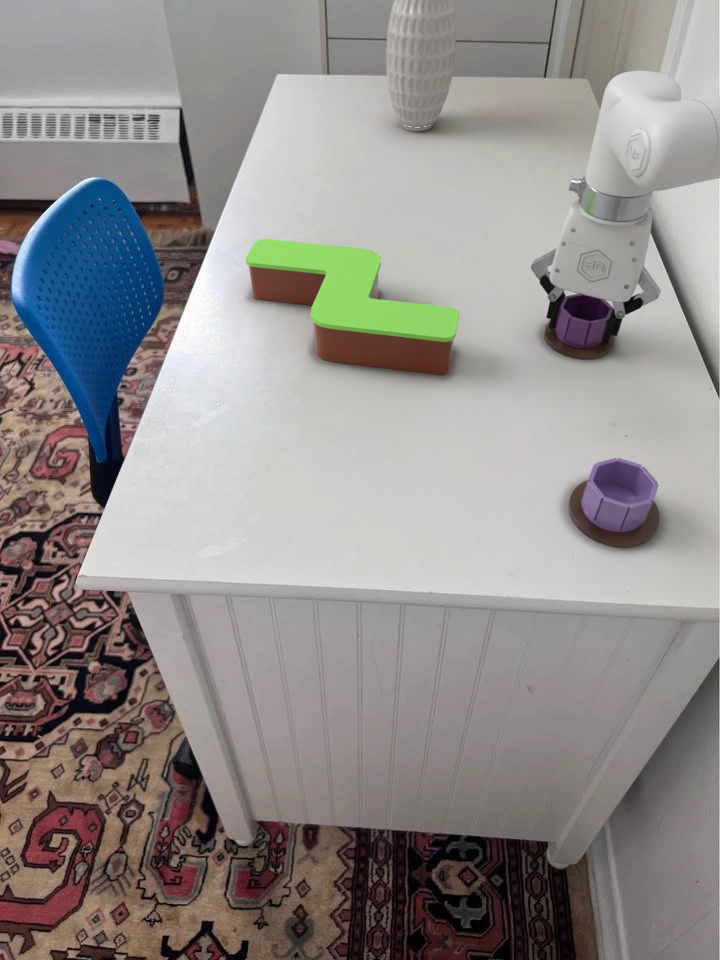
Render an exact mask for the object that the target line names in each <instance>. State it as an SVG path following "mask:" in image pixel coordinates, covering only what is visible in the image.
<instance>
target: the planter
mask: <svg viewBox="0 0 720 960" xmlns="http://www.w3.org/2000/svg"><path fill="white" fill-rule="evenodd" d="M381 261H382V260H381V256H380V255H379V253H378V252H376V251H373V250H372V249H368V248H361V247H350V246H340V245H331V244H321V243H320V244H319V243H311V242H300V241H293V240H292V241H291V240H290V241H289V240H279V239H271V238H261V239H258V240H256V241H255V242H254V243H253V245H252V246H251V248H250V250H249V252H248V253H247V254H246V257H245V262H246V265H247V266H248V268H249V276H250V283H251V291H252V297H253V298H254V299H255V300H260V301H269V302H270V301H271V302H278V303H287V304H288V303H289V304H297V305H306V306H311V308H310V319H311V320H312V323H313V331H314V334H313V335H314V347H315V349H314V350H315V353H316V355H317V357H318V358H320V359H322V360H324V361H327V362H330V363H338V364H346V365H354V366H364V367H371V368H377V369H378V368H379V369H386V370H387V369H388V370H395V371H396V370H397V371H404V372H412V373H420V374H428V375H435V376H445V375H448V374H449V373H450V369H451V365H452V364H451V363H452V359H453V354H454V344H455V338H456V334H457V330H458V324H459V319H460V311H459V310H458V309H457V308H455V307H452V306H444V305H434V304H425V303H416V302H408V301H400V300H399V301H398V300H388V299H382V298H381V299H380V298H379V272H380V269H381V263H382V262H381Z"/></svg>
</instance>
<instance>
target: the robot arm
mask: <svg viewBox="0 0 720 960" xmlns="http://www.w3.org/2000/svg"><path fill="white" fill-rule="evenodd" d="M597 117H598V118H597V121H596V127H595V130H594V131H595V132H594V136H593V140H592V144H591V150H590V153H589V158H588V162H587V166H586V171H585V176H583V177H582V178H578V179H577V178H572V179H571V180H570V183H569V188H568V192H574V194H577V197H578V198H577V199H576V200H575V201H574V202H572V204H571V205H570V208H569V209H568V212H567V214H566V216H565V220H564V222H563V225H562V228H561V231H560V235H559V238H558V242H557V245H556V247H555V248H554V249H552V250H550V251H548V252H546V253H545V254H543V255H541V256H540V257H537V258H535V259H534V260H533V261H532V263H531V265H530V270H531V271H532V272H533V274H534V276H535V277H536V279H538V281H539V285H540V287H542V289H543V290H544V292H545V293H546V294H547V300H548V301H549V304H548V308H547V312H546V319H547V320H549V322H550V323H549V322H548V323H549V329H554V328H555V324H556V320H557V315H558V311H559V307H560V305H561V303H562V301H563V299H564V297H566V293H565V291H567V292H572V293H574V294H583V295H587V296H591V297H595V298H599V299H604V300H606V301H607V302H612V307H613V311H612V313H611V316H610V318H609V321H608V325H607V328H606V332H605V335H604V338H603V342H604V343H606V344H608V343H609V340H610V338H611V336H612V335H613V336H614V337H617V336H618V334H619V331H620V329H621V325H622V322H623V319H624V318H625V317H626V315H629V314H631V313H634V312H635V311H638V310H639V309H641V308H643V306H645V305H648V304H650V303H652V302H654V301H656V300H658V299H659V296H660V294H661V292H662V291H661V288H660V287H659V285H658V284H657V283H656V281H655V279H654V278H653V277H652V275H651V274H650V272H649V271H648V270H647V268H646V267H645V261H646V257H647V254H648V253H647V252H648V248H649V243H650V238H651V231H652V224H653V223H652V221H653V212H652V211H651V210H650V205H651V202H652V198H653V195H654V192H659V191H661V192H662V191H668V190H671V189H676V188H680V187H685V186H686V187H687V186H690V185H695V184H698V183H703V182H707V181H713V180H718V179H720V94H713V95H709V96H704V97H697V98H693V99H688V100H682V89H681V86H680V84H679V83H678V82H677V80H675V78H673V77H671V76H669V75H667V74H663V73H661V72H657V71H651V70H630V71H625V72H621V73H619V74H617V75H616V76H614V77H612V78H611V79H610V80H609V82H608V84H607V85H606V87H605V89H604V93H603V96H602V100H601V104H600V109H599V113H598V116H597ZM550 266H551V268H550V271H549V267H550ZM637 286H639V288H641V290H642V292H640V293H637V294H635V295H634V293H635V290H636V289H637Z"/></svg>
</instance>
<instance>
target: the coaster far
mask: <svg viewBox="0 0 720 960" xmlns="http://www.w3.org/2000/svg"><path fill="white" fill-rule="evenodd" d="M549 323H550V321H548V323H547V324H546V325H545V328H544V331H543V337H544V341H545V342H546V344H547V345H548V346H549V348H551V349H552V350H553V351H555V352H556V353H559V354H560V355H563V356H565V357H569V358H572V359H578V360H593V359H598V358H602V357H603V356H605V355H607V354H609V353H610V352H611V351H612V350H613V348H614V345H615V341H616V336H613V335H612V336H611V338H610V340H609V343H608V344H606V343H604V342H602V343H601V344H600V345H598V346H596V347H593V348H576V347H572V346H569V345H567V344H565V343H563V342H562V341H560V340H559V339H558V337H557V336H556V334H555V328H554V329H549Z"/></svg>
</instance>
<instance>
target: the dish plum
mask: <svg viewBox="0 0 720 960" xmlns="http://www.w3.org/2000/svg"><path fill="white" fill-rule="evenodd" d="M613 309H614V307H613V305H611V304H610V302H609V301H608V300H604V299H599V298H595V297H591V296H587V295H583V294H579V293H574V294H569V295H565V297H564V299H563V301H562V303H561V305H560V307H559V311H558V315H557V320H556V324H555V334H556V336H557V337H558V339H559V340H560V341H562V342H563V343H565V344H567V345H569V346H572V347H576V348H593V347H596V346H598V345H600V344H601V343H602V342H603V338H604V335H605V332H606V328H607V325H608V321H609V318H610V316H611V313H612V311H613Z"/></svg>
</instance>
